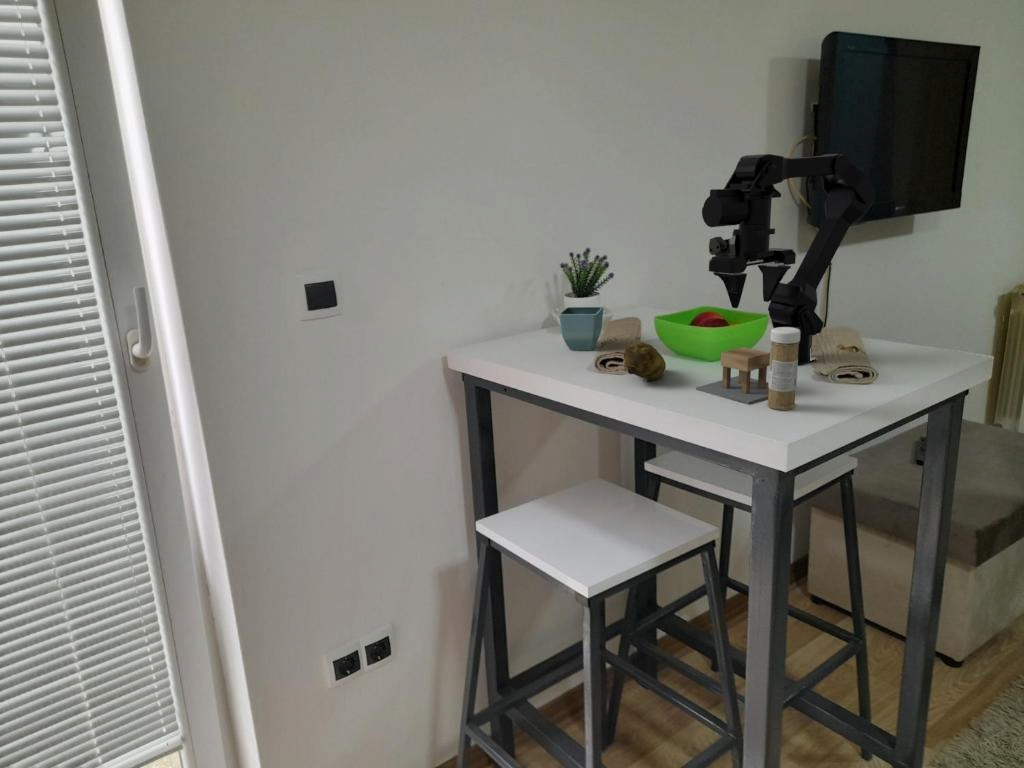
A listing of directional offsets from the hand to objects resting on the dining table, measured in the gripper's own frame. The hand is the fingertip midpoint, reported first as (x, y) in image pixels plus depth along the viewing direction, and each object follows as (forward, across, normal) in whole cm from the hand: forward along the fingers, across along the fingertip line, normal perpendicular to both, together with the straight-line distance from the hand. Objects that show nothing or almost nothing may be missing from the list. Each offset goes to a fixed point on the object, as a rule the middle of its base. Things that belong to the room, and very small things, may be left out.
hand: (750, 304), depth 145 cm
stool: (+13, +12, +9) cm, 19 cm away
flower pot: (+13, +13, -37) cm, 41 cm away
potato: (+13, +20, -8) cm, 25 cm away
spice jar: (+13, +15, +19) cm, 28 cm away
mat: (+13, +12, +9) cm, 20 cm away
